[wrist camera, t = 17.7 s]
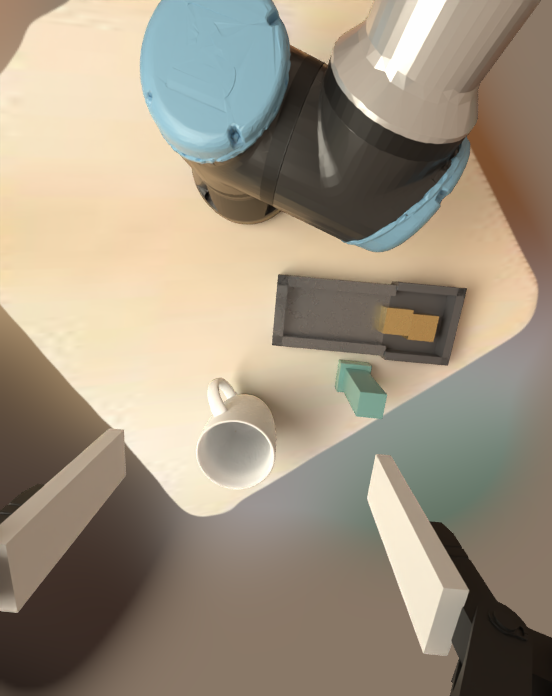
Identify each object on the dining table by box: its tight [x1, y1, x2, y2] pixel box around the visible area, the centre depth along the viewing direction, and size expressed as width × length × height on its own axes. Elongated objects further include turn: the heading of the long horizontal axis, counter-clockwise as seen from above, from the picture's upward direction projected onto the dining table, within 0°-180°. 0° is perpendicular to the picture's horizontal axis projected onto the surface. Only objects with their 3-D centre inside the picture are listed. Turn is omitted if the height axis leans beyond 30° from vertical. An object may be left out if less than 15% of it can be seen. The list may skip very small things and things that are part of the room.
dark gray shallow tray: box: [272, 275, 397, 356], centre depth 47 cm, size 11×18×2 cm, turn 85°
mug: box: [196, 378, 276, 489], centre depth 46 cm, size 15×11×13 cm
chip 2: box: [402, 313, 439, 342], centre depth 46 cm, size 4×4×2 cm
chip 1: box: [378, 306, 414, 336], centre depth 46 cm, size 4×4×2 cm
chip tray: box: [380, 282, 467, 365], centre depth 46 cm, size 12×10×3 cm
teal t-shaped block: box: [335, 360, 387, 419], centre depth 44 cm, size 5×5×12 cm
